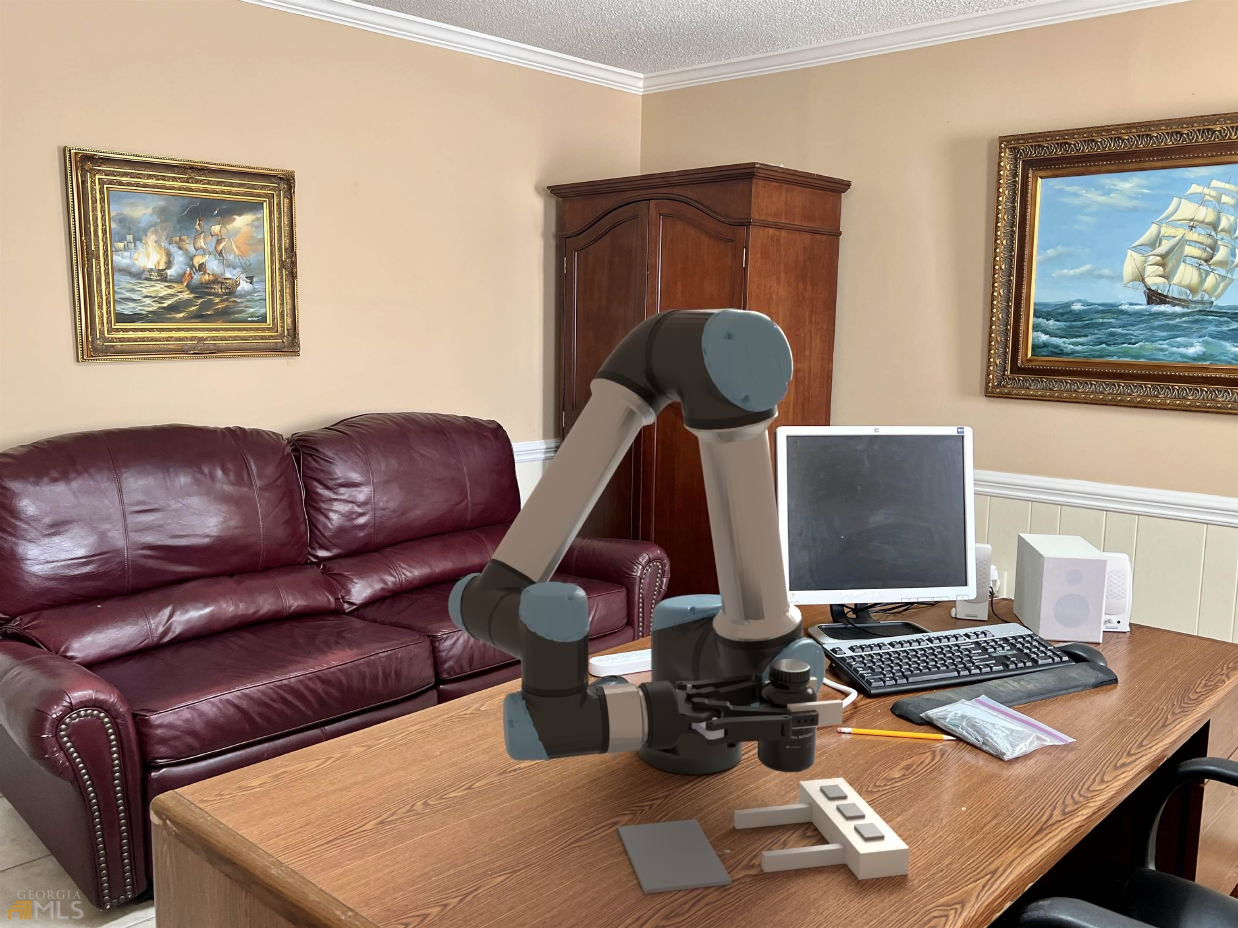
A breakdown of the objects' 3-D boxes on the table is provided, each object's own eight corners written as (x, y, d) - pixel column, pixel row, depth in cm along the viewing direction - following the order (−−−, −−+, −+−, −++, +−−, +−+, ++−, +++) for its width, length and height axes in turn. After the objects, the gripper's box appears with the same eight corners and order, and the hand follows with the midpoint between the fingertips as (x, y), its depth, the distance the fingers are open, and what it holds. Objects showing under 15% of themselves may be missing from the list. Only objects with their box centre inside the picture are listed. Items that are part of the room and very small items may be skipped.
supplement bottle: (802, 779, 115) (805, 679, 113) (748, 765, 118) (750, 668, 116) (824, 757, 120) (827, 661, 119) (771, 744, 124) (773, 651, 122)
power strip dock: (725, 811, 129) (725, 785, 128) (841, 800, 132) (842, 774, 131) (775, 889, 111) (776, 858, 111) (907, 873, 114) (909, 844, 114)
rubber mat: (618, 830, 124) (618, 826, 124) (695, 822, 126) (696, 818, 126) (644, 893, 110) (644, 889, 110) (731, 883, 112) (731, 879, 112)
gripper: (621, 714, 124) (796, 698, 129) (661, 786, 106) (863, 765, 110) (621, 656, 123) (797, 643, 128) (661, 719, 104) (866, 701, 109)
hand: (827, 699), depth 119 cm, fingers closed on supplement bottle, 7 cm apart
